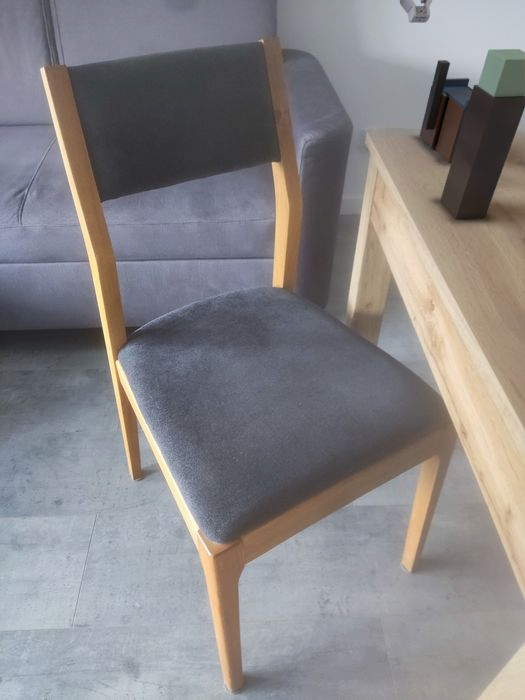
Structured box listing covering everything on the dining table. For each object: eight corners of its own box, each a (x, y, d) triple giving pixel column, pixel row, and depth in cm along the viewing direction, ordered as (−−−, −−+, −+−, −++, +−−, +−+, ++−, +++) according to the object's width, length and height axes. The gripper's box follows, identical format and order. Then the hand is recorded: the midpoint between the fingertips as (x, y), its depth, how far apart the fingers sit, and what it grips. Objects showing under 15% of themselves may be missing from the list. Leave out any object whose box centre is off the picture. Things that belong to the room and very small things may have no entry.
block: (507, 85, 65) (519, 48, 62) (524, 96, 62) (538, 58, 59) (477, 86, 64) (488, 49, 61) (493, 97, 61) (505, 59, 58)
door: (421, 136, 91) (441, 54, 83) (433, 147, 88) (455, 64, 79) (411, 136, 91) (430, 54, 82) (423, 148, 88) (444, 64, 79)
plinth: (467, 202, 76) (506, 83, 65) (484, 220, 73) (528, 97, 62) (439, 204, 75) (473, 84, 64) (454, 222, 72) (494, 98, 61)
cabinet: (450, 139, 93) (468, 78, 86) (477, 163, 86) (498, 99, 79) (417, 140, 92) (432, 78, 85) (442, 165, 85) (460, 100, 78)
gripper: (355, -81, 82) (365, 7, 81) (477, -78, 85) (487, 7, 85) (343, -49, 88) (352, 33, 88) (457, -48, 91) (466, 31, 91)
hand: (419, 20), depth 86 cm, fingers closed
